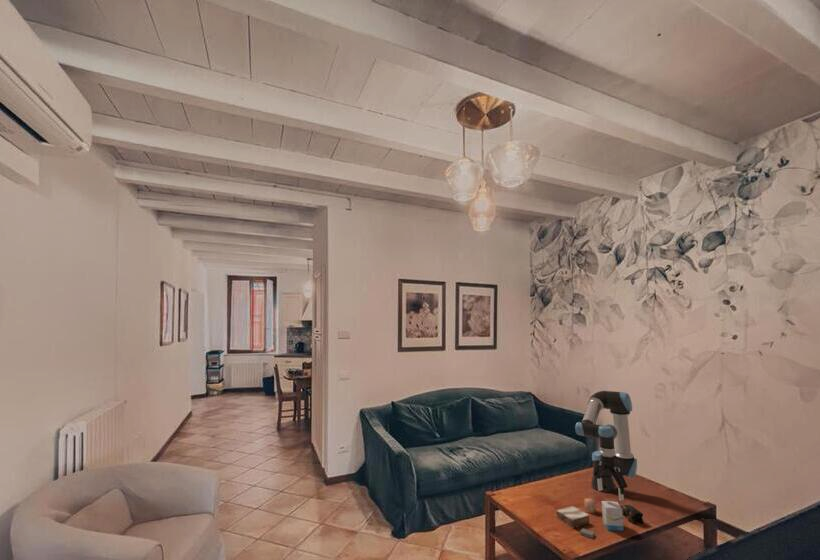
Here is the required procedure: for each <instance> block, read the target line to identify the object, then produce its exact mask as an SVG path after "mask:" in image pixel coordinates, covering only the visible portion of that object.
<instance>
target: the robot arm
mask: <svg viewBox="0 0 820 560" xmlns="http://www.w3.org/2000/svg"><path fill="white" fill-rule="evenodd" d="M603 409H605V410H609V412H610V414H611V415H612V418H613V419H612V420H613V425H612V424H606V425H604V424H597V421H598V418H599V415H600V412H601V411H602V410H603ZM631 412H633V404H632V399H631V396H630V394H628V392H621V391H611V390H600V391H596V392H595V393H593V394H592V395H590V397H589V398H588V400H587V408H586V410H585V412H584V415H583V418H582V420H581V421H578V422H576V423H575V426H574V428H575V433H576V435H578V436H583V437H589V438H594V439H598V440H599V441H598V442H599V450H595V451H593V452H592V453H591V455H592V456H591V460H592V479H591V488H592V489H594V490H596V491H599V492H603V493H614V492H616V491H617V489H618V500H619V501H624V500H625V497H624V496H625V489H626V488H628V484H627V481H626V480H625V477H627V478H628V477H629V478H635V477H636V475H637V470H638V469H637V468H638V458H635V455H634V454H633V453H632V448H631V440H630V429H629V427H630V426H629V418H628V417H629V415H630V414H631ZM616 484H617V485H618V487H617V485H616Z"/></svg>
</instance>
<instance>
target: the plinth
mask: <svg viewBox="0 0 820 560" xmlns="http://www.w3.org/2000/svg"><path fill="white" fill-rule="evenodd" d="M556 518H559V519H561V520H562V521H564V522H565V523H567V524H568V525H570V526H571V527H570V526H569V527H570V528H572V527H573V528H572V529H575V528H574V527H576V528H578V527H577V526H579V527H581V526H580V525H583V526H585V525H584V524H586V525H588V524H587V523H589V524H590V515H589V514H588V513H587V512H585V511H583V510H580V509H579V508H578V507H575V506H574V505H570V506H565V507H563V508H560V509H556ZM559 519H558V520H559ZM561 520H560V521H561ZM562 521H561V522H562ZM564 522H563V523H564ZM565 523H564V524H565ZM567 524H566V525H567ZM568 525H567V526H568Z"/></svg>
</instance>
